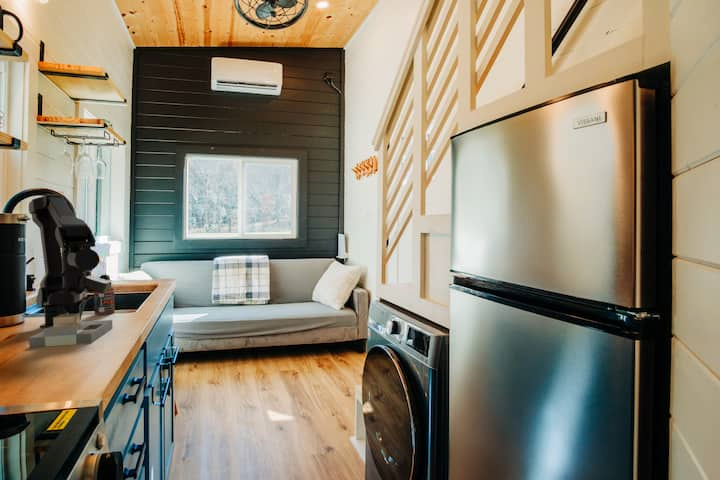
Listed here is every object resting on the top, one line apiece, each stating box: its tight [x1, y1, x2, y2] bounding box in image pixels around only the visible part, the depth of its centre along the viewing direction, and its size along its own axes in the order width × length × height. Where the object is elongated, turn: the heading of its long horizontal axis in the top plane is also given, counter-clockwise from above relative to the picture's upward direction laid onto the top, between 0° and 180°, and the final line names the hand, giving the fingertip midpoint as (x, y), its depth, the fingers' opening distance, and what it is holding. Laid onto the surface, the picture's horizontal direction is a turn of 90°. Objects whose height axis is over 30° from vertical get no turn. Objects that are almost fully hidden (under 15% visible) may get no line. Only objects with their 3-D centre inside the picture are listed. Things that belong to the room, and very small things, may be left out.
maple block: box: [53, 313, 81, 331], centre depth 112 cm, size 4×4×4 cm
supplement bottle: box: [93, 285, 116, 316], centre depth 147 cm, size 6×6×11 cm
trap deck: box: [28, 319, 113, 349], centre depth 116 cm, size 16×14×4 cm
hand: (77, 323), depth 119 cm, fingers closed
